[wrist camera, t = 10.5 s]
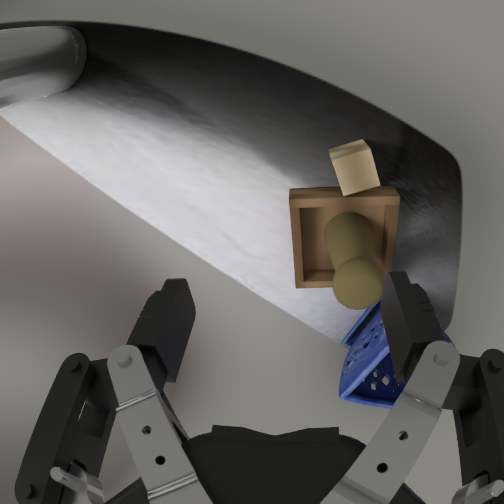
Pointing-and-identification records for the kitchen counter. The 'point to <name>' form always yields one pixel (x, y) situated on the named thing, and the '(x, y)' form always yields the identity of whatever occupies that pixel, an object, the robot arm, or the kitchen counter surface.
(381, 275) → the cork
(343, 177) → the beech block
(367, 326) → the flower pot
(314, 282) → the tray
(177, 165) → the kitchen counter surface
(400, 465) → the robot arm
